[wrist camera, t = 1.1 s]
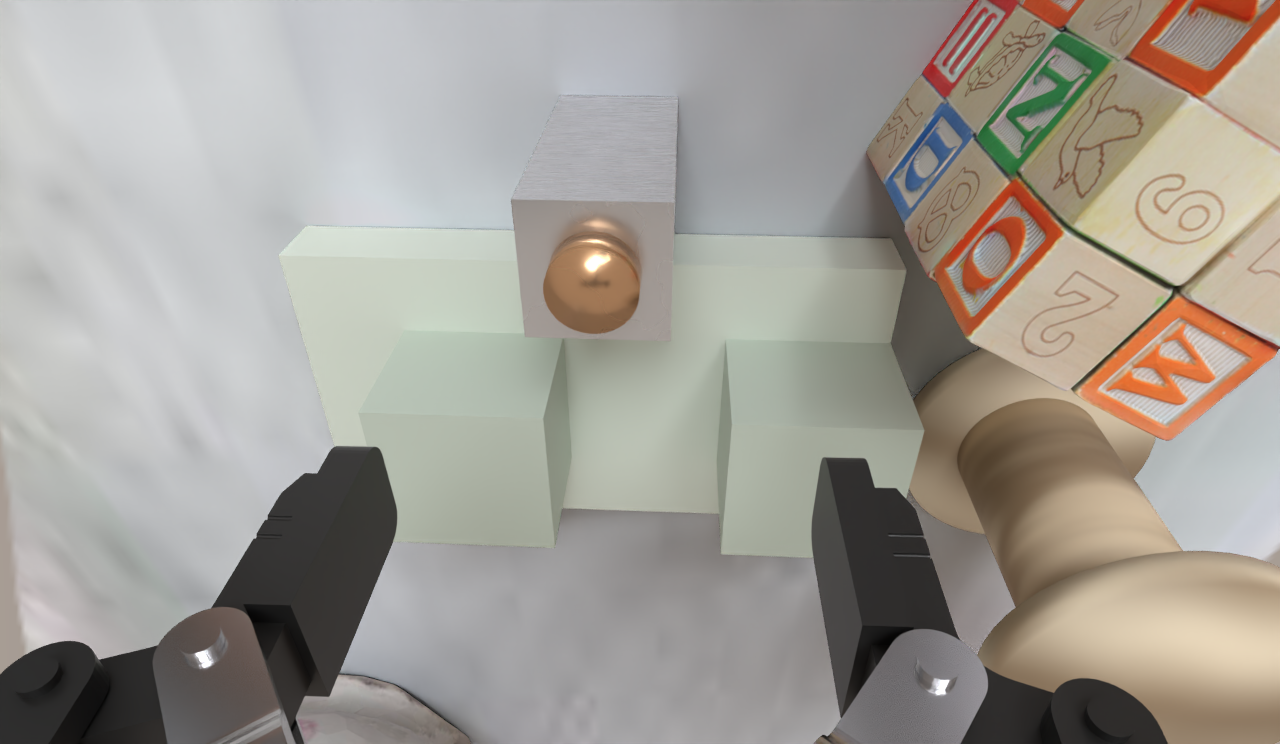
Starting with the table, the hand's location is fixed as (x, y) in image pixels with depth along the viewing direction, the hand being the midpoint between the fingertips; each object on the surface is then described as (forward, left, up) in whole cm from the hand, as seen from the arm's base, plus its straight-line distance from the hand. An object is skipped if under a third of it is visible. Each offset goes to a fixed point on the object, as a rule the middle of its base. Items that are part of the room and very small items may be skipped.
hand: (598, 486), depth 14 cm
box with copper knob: (0, -1, -16) cm, 16 cm away
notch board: (+9, -2, -16) cm, 19 cm away
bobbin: (+12, +16, -16) cm, 26 cm away
